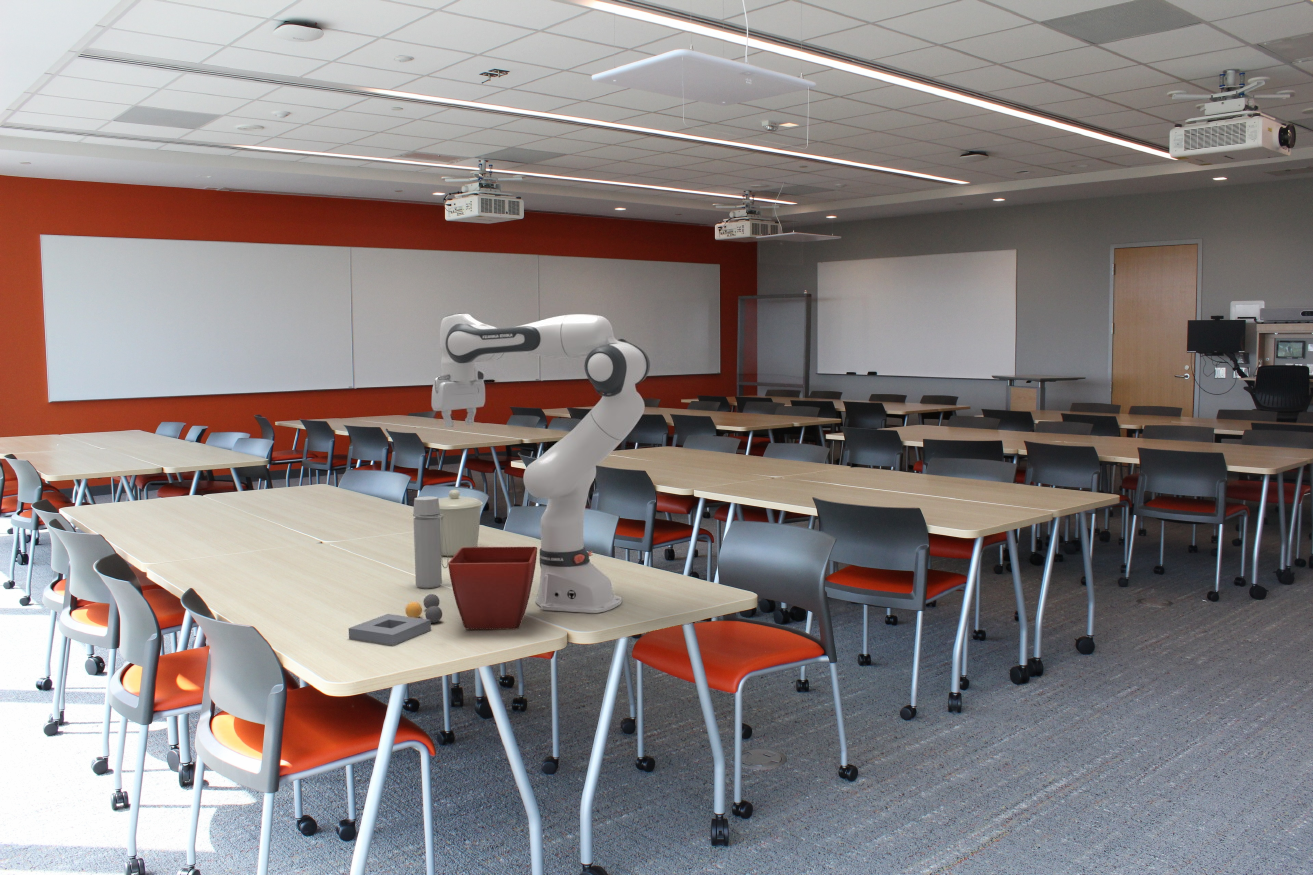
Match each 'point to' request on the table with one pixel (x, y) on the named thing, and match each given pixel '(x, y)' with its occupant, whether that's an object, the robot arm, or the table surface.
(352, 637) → the grey square frame
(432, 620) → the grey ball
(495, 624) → the plant pot
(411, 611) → the orange ball
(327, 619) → the table surface
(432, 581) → the water bottle
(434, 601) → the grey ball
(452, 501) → the canister
